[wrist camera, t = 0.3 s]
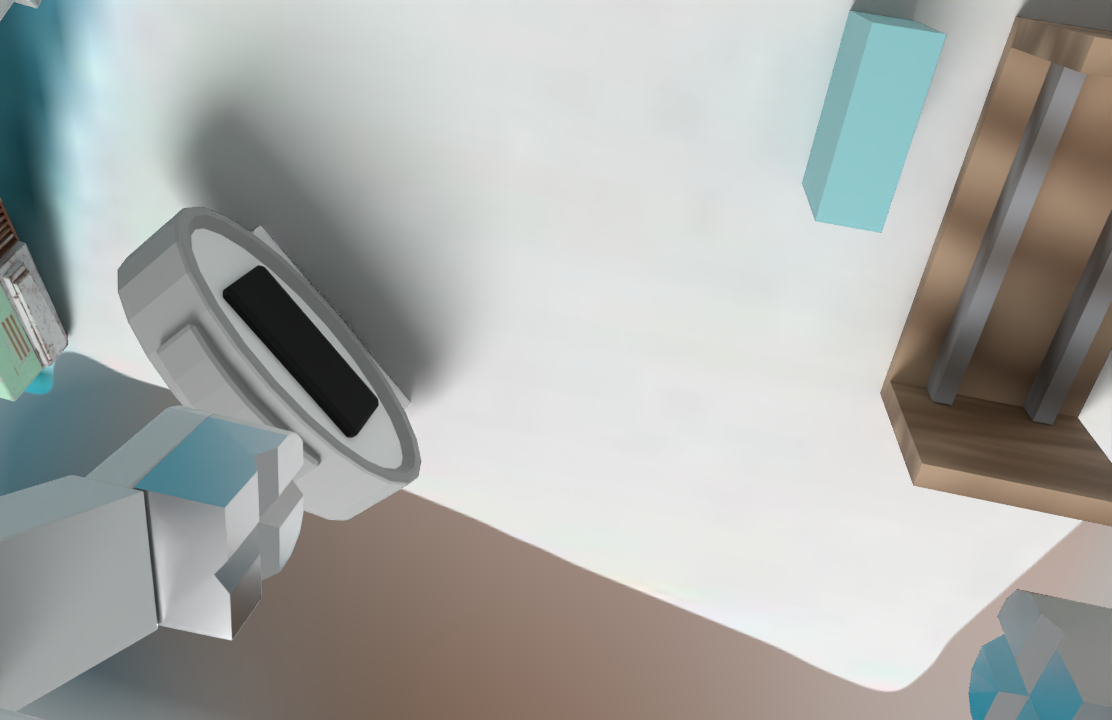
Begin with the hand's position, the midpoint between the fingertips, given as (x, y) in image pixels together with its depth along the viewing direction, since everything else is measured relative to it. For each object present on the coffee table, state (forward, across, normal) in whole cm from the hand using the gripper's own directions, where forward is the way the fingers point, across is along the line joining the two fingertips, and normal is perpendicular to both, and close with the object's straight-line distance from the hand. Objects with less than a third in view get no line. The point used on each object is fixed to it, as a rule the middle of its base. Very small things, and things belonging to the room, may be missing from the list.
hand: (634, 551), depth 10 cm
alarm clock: (+46, +24, +23) cm, 57 cm away
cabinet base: (+46, -22, +7) cm, 51 cm away
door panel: (+46, -9, +1) cm, 47 cm away
